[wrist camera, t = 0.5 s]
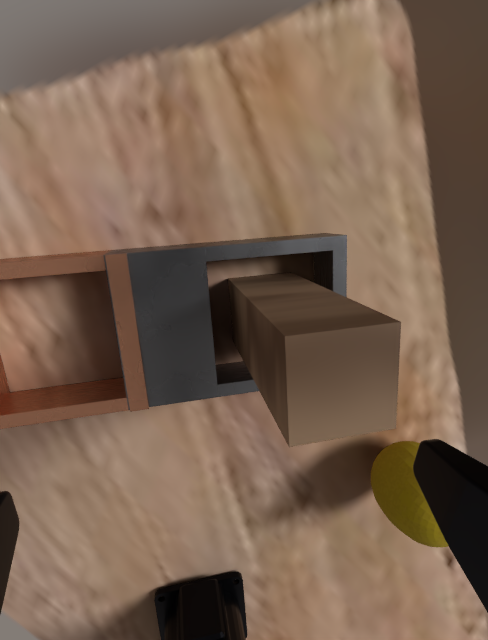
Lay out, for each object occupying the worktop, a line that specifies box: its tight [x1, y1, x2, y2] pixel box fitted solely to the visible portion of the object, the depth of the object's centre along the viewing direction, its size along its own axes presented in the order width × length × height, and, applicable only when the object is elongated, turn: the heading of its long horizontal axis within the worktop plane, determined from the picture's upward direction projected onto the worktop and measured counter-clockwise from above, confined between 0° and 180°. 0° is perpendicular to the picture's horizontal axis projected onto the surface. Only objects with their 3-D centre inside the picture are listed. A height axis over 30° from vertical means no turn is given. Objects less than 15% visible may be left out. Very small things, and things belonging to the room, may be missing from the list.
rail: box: [0, 233, 347, 429], centre depth 22 cm, size 8×21×3 cm, turn 94°
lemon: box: [371, 441, 448, 547], centre depth 25 cm, size 6×6×8 cm
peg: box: [228, 272, 401, 447], centre depth 19 cm, size 4×4×12 cm
